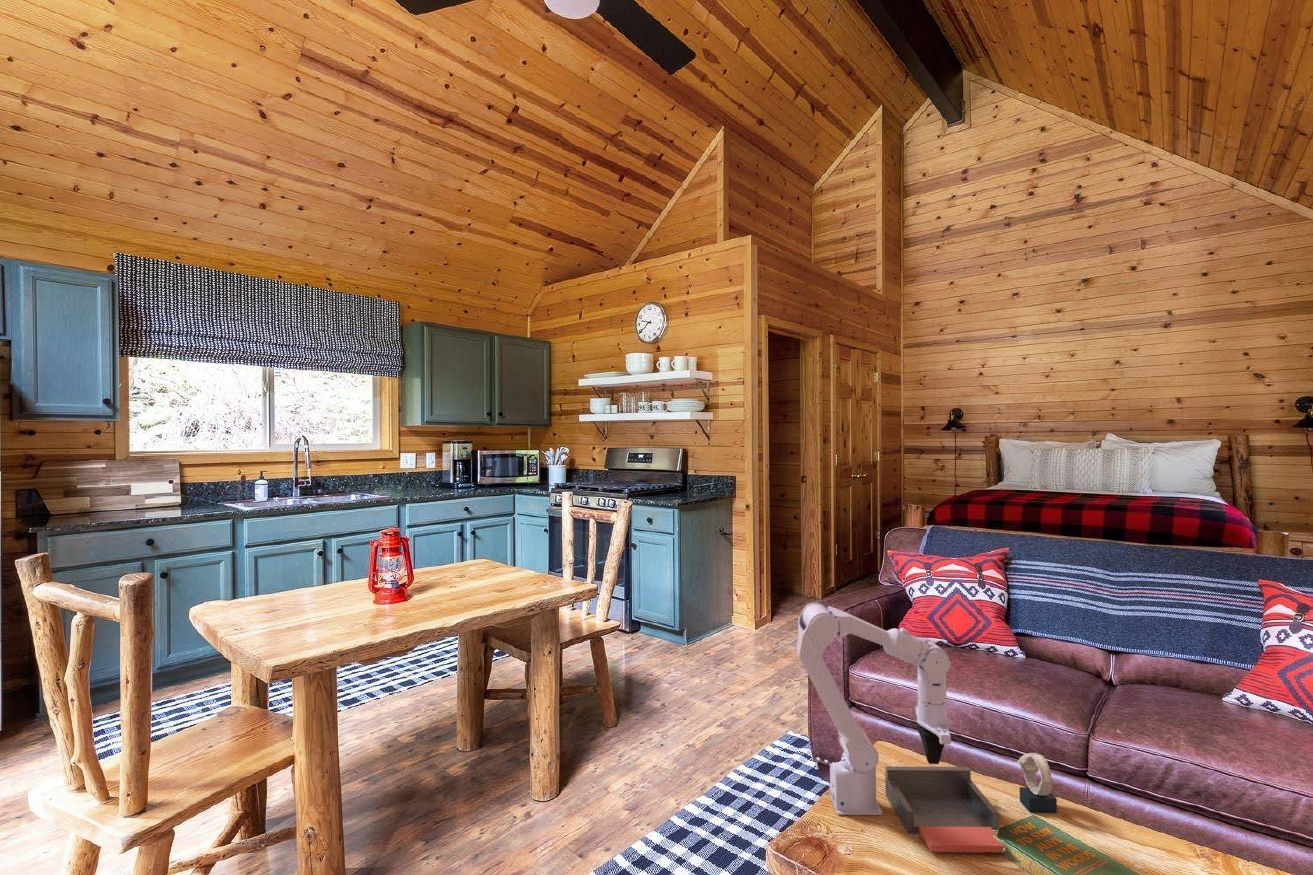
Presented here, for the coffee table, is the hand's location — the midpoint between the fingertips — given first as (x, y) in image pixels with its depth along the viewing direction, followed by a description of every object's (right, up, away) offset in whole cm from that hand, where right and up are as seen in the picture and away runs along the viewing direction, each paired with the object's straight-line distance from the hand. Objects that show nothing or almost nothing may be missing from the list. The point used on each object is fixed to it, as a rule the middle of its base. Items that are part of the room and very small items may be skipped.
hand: (932, 762), depth 140 cm
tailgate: (0, -8, -11) cm, 14 cm away
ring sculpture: (+22, -9, -1) cm, 24 cm away
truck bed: (0, -9, -3) cm, 10 cm away
